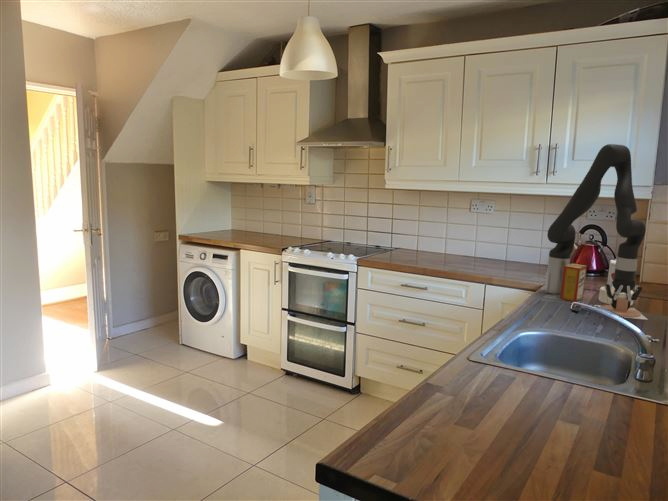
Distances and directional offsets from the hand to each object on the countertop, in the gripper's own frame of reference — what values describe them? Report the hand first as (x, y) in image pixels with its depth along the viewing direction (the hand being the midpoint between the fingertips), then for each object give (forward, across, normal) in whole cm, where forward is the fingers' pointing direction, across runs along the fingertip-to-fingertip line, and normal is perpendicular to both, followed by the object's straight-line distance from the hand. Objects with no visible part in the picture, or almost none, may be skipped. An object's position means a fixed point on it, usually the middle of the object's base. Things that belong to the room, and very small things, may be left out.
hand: (620, 308), depth 207 cm
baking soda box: (+2, -15, +17) cm, 23 cm away
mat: (+2, 0, 0) cm, 2 cm away
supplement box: (+2, +10, +40) cm, 41 cm away
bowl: (+2, +3, +17) cm, 17 cm away
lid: (+1, 0, 0) cm, 1 cm away
